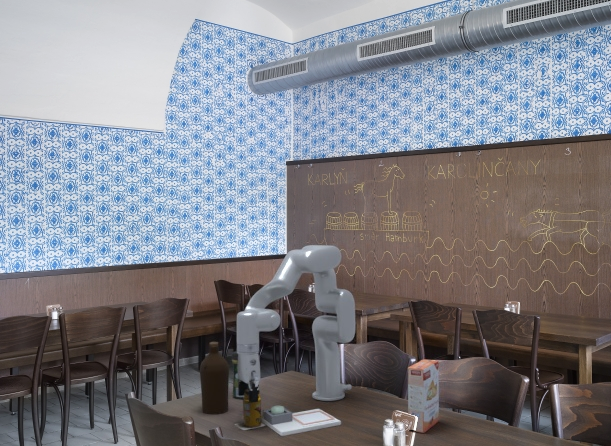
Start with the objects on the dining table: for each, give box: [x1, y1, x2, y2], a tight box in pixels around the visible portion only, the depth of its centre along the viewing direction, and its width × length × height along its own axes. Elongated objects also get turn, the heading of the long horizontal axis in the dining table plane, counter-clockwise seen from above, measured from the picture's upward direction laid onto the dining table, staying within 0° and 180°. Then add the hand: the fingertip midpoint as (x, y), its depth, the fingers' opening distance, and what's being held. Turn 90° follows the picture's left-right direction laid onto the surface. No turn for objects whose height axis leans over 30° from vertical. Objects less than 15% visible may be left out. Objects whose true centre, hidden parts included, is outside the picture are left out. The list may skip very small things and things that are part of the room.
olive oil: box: [199, 341, 230, 415], centre depth 230 cm, size 11×11×25 cm
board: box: [262, 407, 342, 437], centre depth 213 cm, size 22×16×4 cm
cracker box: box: [407, 358, 440, 434], centre depth 208 cm, size 14×6×21 cm, turn 148°
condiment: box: [234, 389, 267, 431], centre depth 213 cm, size 7×8×12 cm
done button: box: [270, 405, 285, 415], centre depth 214 cm, size 4×4×3 cm
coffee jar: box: [231, 350, 253, 399], centre depth 248 cm, size 10×8×19 cm
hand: (248, 398), depth 212 cm, fingers open, 9 cm apart
